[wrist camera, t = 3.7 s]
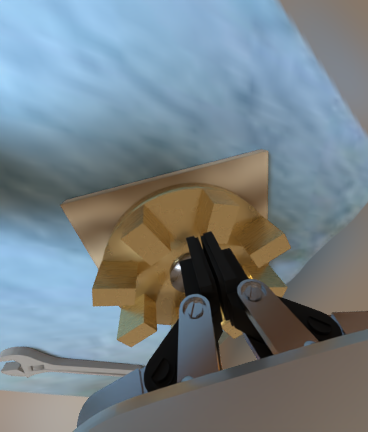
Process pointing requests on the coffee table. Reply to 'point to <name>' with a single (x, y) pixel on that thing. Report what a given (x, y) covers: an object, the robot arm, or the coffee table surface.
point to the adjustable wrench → (57, 364)
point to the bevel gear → (179, 253)
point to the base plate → (131, 193)
